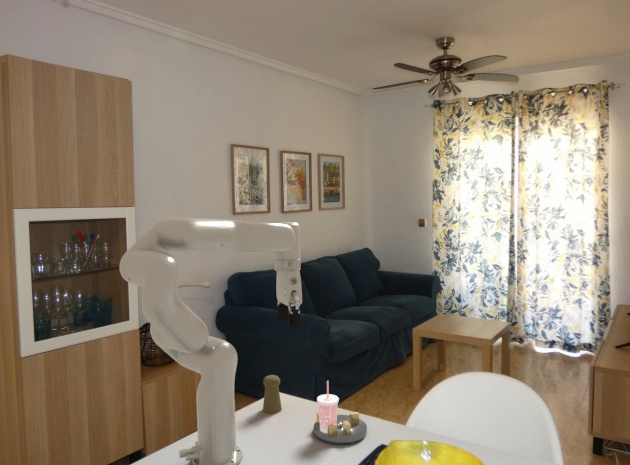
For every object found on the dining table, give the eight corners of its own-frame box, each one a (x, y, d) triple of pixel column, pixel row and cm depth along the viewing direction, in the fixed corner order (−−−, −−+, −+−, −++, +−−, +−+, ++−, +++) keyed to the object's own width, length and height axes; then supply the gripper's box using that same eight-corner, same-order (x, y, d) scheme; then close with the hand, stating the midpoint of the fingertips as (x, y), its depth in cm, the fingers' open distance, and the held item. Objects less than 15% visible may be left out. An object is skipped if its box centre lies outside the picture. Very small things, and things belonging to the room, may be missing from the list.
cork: (270, 416, 155) (269, 381, 154) (258, 410, 159) (258, 376, 159) (285, 410, 159) (285, 376, 158) (273, 404, 164) (273, 371, 163)
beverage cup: (336, 423, 146) (335, 376, 145) (341, 433, 140) (341, 384, 139) (315, 425, 145) (314, 377, 143) (319, 435, 139) (319, 386, 137)
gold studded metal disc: (352, 416, 154) (352, 401, 153) (376, 438, 140) (376, 422, 140) (306, 425, 148) (305, 410, 148) (326, 449, 134) (326, 432, 134)
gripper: (310, 268, 140) (311, 328, 141) (289, 260, 156) (290, 315, 157) (284, 270, 137) (285, 332, 139) (266, 261, 153) (267, 317, 155)
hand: (288, 322), depth 148 cm, fingers open, 9 cm apart
